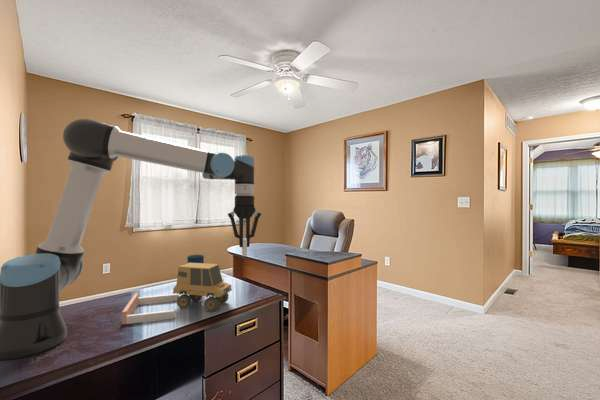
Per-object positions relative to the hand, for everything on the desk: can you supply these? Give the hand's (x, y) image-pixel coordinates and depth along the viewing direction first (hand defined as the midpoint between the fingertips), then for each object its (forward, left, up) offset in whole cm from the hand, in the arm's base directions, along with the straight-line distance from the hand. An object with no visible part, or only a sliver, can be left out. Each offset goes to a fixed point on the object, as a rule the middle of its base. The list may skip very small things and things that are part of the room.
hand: (244, 255), depth 110 cm
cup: (-18, +19, -18) cm, 32 cm away
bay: (-32, 0, -18) cm, 36 cm away
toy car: (-15, 0, -18) cm, 24 cm away
